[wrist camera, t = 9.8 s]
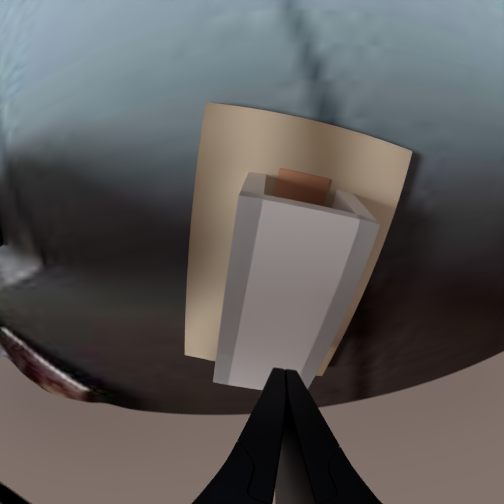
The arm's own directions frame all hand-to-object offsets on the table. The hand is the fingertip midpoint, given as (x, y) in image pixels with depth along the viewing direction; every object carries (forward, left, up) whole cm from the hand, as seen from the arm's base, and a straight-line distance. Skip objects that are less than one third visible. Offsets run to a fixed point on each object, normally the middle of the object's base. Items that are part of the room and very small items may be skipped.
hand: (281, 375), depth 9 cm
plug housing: (0, 0, -7) cm, 7 cm away
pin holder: (0, 0, -8) cm, 8 cm away
